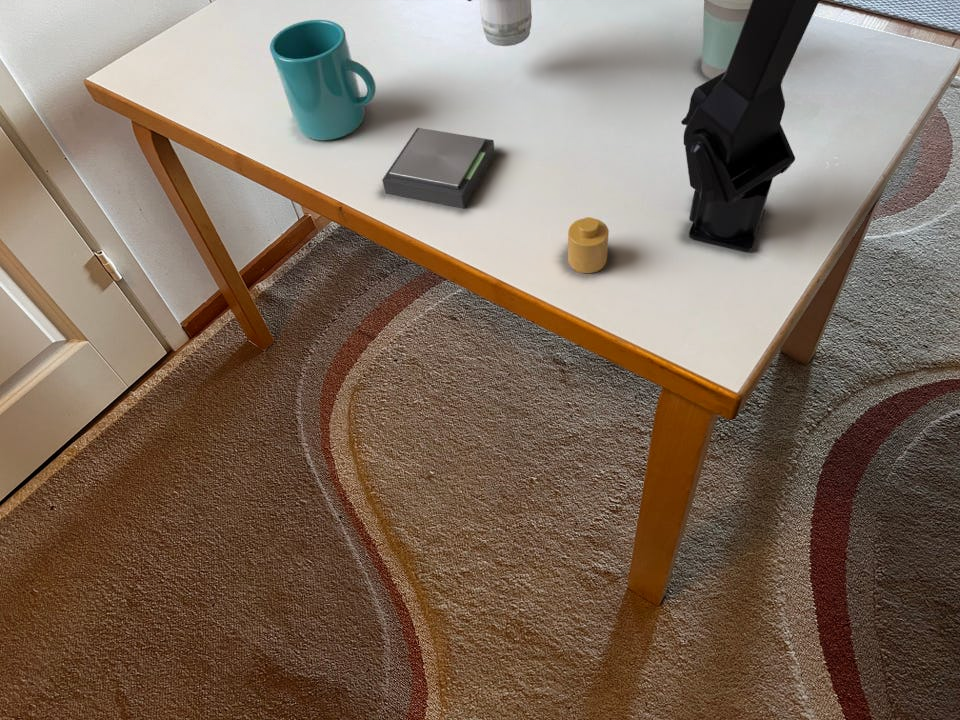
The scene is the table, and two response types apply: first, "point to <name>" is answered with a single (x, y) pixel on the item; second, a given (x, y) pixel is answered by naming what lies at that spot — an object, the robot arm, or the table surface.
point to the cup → (321, 79)
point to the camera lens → (506, 21)
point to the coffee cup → (721, 33)
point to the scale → (439, 167)
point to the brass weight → (587, 245)
